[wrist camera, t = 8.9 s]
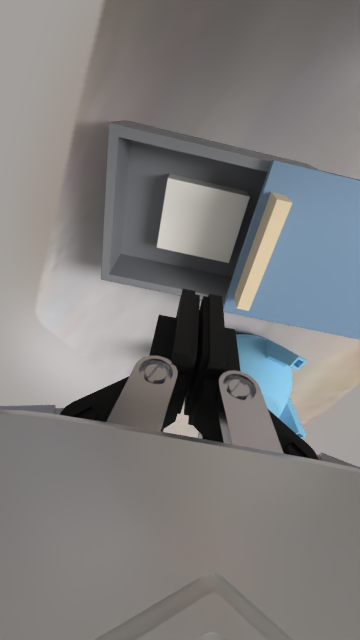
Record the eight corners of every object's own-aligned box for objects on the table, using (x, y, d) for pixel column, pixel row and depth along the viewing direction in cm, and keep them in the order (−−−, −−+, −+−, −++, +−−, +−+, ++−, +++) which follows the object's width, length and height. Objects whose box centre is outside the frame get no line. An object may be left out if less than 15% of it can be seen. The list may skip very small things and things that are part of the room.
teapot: (178, 330, 42) (172, 388, 34) (289, 314, 40) (313, 372, 31) (199, 401, 51) (198, 462, 42) (291, 392, 48) (311, 455, 39)
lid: (479, 208, 25) (513, 220, 22) (379, 339, 33) (395, 359, 31) (272, 159, 24) (280, 165, 21) (222, 307, 32) (223, 325, 29)
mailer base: (307, 163, 29) (327, 174, 25) (257, 286, 37) (265, 313, 33) (125, 120, 28) (108, 122, 23) (114, 256, 36) (100, 279, 31)
